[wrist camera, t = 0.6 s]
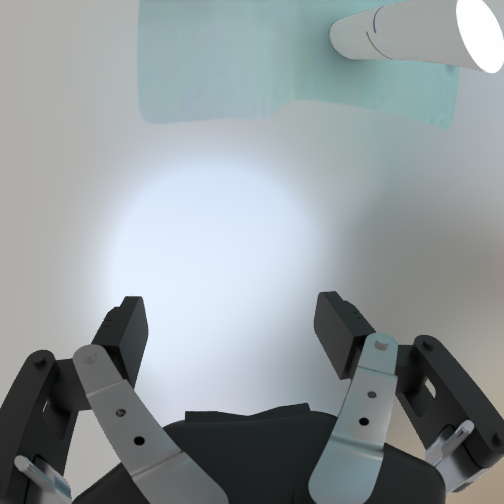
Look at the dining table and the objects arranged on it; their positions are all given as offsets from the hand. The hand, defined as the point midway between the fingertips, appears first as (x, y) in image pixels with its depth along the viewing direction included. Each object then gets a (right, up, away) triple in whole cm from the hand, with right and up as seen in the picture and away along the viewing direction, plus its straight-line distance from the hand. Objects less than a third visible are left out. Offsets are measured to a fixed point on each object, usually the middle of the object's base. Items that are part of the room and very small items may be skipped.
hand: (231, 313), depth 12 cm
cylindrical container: (+16, +34, +17) cm, 41 cm away
